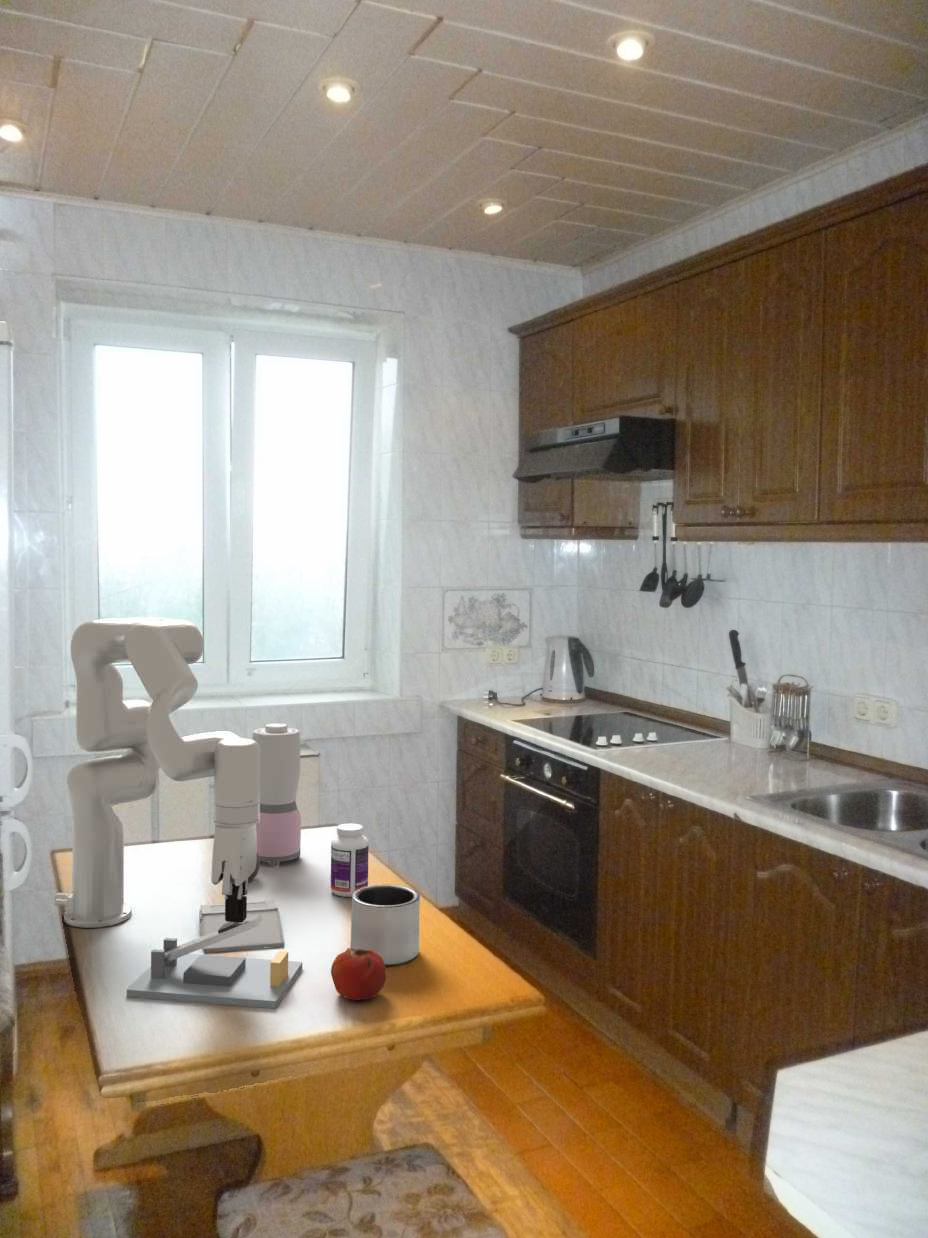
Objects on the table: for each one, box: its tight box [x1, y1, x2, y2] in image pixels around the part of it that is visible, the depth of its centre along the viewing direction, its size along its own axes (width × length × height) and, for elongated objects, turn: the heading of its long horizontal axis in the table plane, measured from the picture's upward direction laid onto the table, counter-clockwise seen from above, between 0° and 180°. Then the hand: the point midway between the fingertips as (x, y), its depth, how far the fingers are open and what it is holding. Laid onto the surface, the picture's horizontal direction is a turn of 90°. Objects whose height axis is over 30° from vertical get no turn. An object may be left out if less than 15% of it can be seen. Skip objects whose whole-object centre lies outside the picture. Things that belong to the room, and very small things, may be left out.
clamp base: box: [126, 937, 303, 1009], centre depth 176 cm, size 25×16×6 cm, turn 83°
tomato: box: [330, 947, 387, 1001], centre depth 172 cm, size 9×9×8 cm
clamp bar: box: [165, 914, 263, 963], centre depth 175 cm, size 19×4×2 cm, turn 83°
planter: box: [349, 884, 421, 967], centre depth 189 cm, size 12×12×11 cm
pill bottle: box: [330, 822, 370, 898], centre depth 223 cm, size 8×8×14 cm
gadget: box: [199, 900, 286, 953], centre depth 201 cm, size 23×15×4 cm, turn 16°
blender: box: [251, 723, 302, 868], centre depth 245 cm, size 16×12×32 cm
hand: (235, 920), depth 175 cm, fingers closed
